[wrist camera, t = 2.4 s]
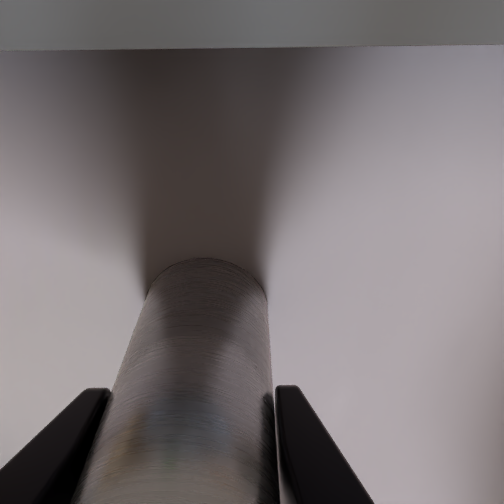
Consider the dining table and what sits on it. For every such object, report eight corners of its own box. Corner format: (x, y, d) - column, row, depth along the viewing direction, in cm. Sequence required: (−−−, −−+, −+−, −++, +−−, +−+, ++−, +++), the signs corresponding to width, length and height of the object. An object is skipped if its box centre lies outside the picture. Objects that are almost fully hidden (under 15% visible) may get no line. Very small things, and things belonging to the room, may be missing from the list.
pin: (268, 257, 10) (320, 884, 3) (267, 355, 11) (300, 926, 4) (138, 258, 10) (-158, 892, 3) (154, 357, 11) (-9, 933, 4)
